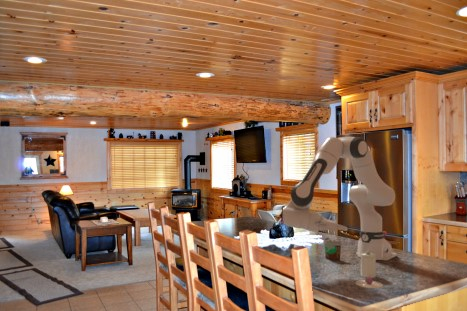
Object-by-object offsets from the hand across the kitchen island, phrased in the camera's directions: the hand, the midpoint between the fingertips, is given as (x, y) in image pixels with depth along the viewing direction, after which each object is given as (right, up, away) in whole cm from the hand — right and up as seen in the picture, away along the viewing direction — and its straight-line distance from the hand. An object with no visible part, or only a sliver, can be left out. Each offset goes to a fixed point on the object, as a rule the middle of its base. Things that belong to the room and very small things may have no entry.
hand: (346, 228), depth 184 cm
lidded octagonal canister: (+9, -21, -3) cm, 23 cm away
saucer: (+5, -21, -14) cm, 26 cm away
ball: (+5, -20, -14) cm, 26 cm away
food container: (0, -22, +32) cm, 39 cm away
